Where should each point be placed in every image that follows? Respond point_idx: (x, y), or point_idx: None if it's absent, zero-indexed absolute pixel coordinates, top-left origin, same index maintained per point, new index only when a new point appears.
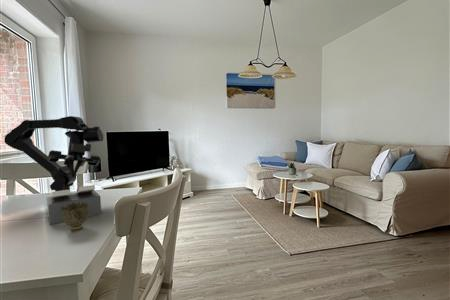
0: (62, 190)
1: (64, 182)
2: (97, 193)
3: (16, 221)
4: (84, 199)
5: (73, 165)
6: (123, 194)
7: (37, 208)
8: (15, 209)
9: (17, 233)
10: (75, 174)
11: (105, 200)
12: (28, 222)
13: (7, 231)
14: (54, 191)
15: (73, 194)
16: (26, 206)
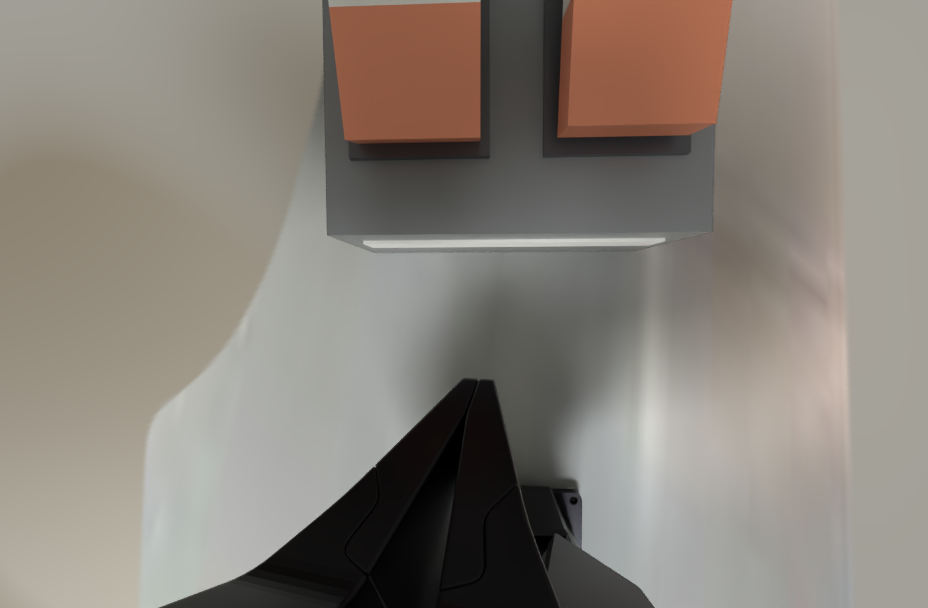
0: (628, 24)
1: (551, 577)
2: (325, 58)
3: (789, 244)
4: None
5: (449, 565)
6: (151, 441)
7: (679, 466)
8: (795, 539)
9: (784, 6)
10: (446, 396)
11: (290, 360)
12: (733, 175)
13: (827, 79)
14: (693, 92)
15: (506, 170)
16: (736, 572)
